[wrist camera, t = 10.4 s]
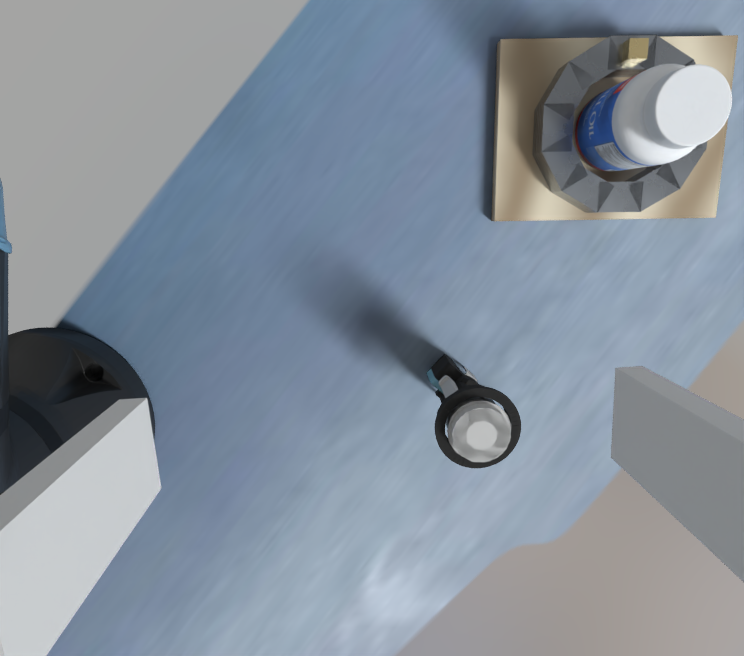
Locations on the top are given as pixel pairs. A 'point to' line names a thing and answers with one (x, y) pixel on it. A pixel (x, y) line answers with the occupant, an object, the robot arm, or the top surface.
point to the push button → (472, 418)
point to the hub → (557, 128)
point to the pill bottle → (653, 117)
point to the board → (516, 125)
